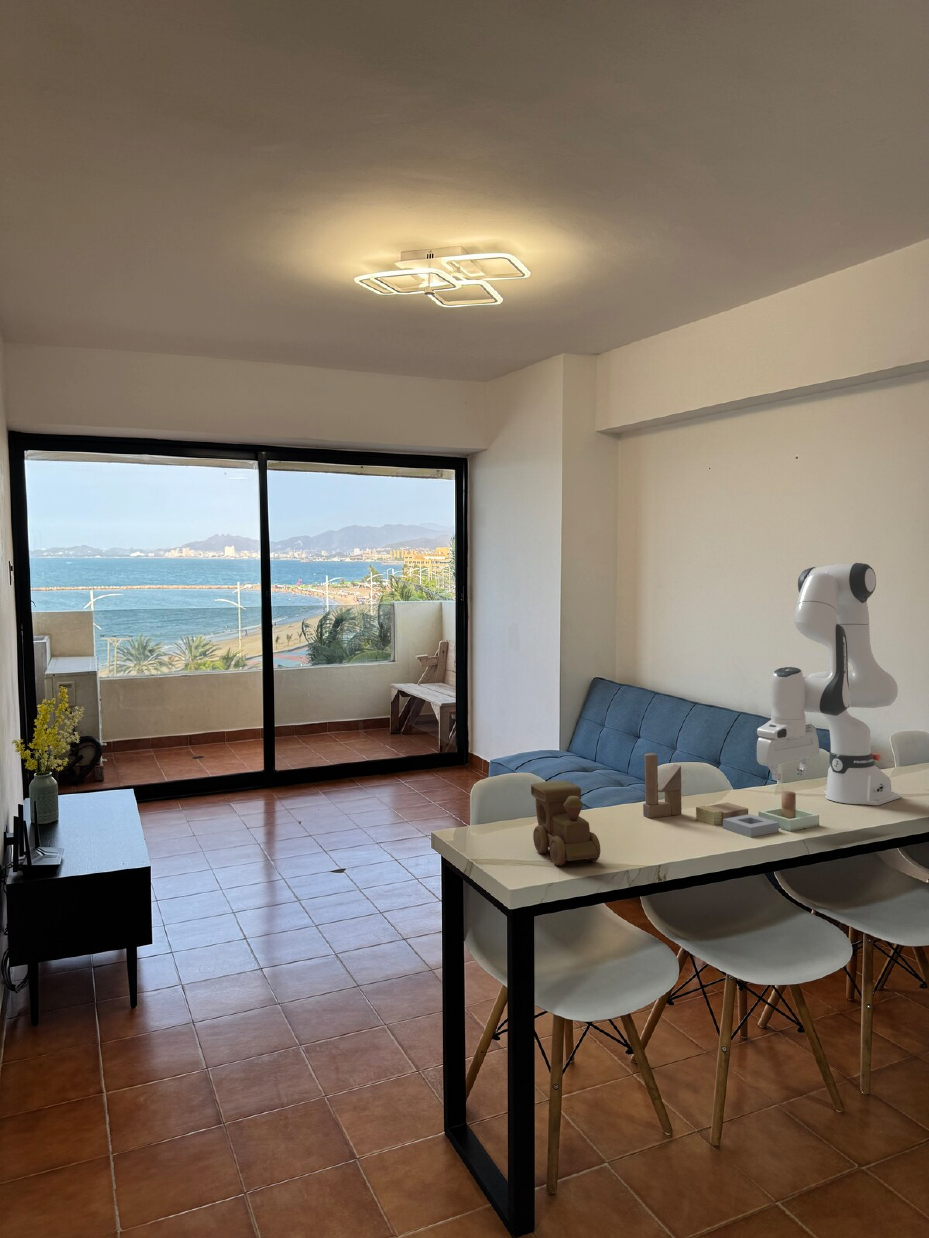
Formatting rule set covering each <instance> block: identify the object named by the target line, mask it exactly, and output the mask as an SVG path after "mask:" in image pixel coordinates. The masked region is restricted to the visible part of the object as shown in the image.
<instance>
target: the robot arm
mask: <svg viewBox="0 0 929 1238" xmlns="http://www.w3.org/2000/svg"><path fill="white" fill-rule="evenodd" d="M876 576H877V575H876V573H875V571H874V568H873V567H872V566H870V564H867V563H863V562H855V563H834V564H830V565H829V564H828V565H823V566H818V567H816V566H812V567H809V568H807V569H804V570H803V571H802V572H801V573H800V575H799V577H798V579H797V589H798V592H799V594H798V598H797V601H796V605H795V610H794V619H793V620H794V625H795V627H796V629H797V631H798V632H799V633H801V634H802V636H804V637H806V638H808V639H809V640H810V641H814V642H816V643H818V644H822V645H823V646H825V647H827V648H828V650H829V651H828V652H829V670H823V671H822V670H821V671H818V672H817V671H816V672H812V673H810V674H809V675H808V676H804V675H803V671H802V669H800V668H798V667H796V666H795V667H794V666H793V667H792V666H785V667H780V668H777V669H775V670H774V671H773V672H772V677H771V682H770V703H771V714H770V720H768V721H767V722H766V723H765V724H763V725H761V726H759V727H758V728H757V730H756V734H757V736H758V739H757V742H756V761H757V763H758V764H759V765H760V766H763V767H764V766H765V767H768V769H769V771H770V773H771V779H772V780H773V781H777V782H778V781H781V780H782V774H781V773H779V771H778V769H779V765H782V764H783V765H784V764H788V763H793V762H798V761H799V762H800V763H799V767H797V768H796V771H797V772H796V774H797V775H798V776H805V775H806V774H807V768H808V766H809V763H810V759H815V758H817V757H819V754H820V744H819V737H818V734H817V727H815V725H813V724H812V723H807V724H806V722H807V721H806V719H807V717H806V713H808V712H809V713H815V714H816V713H817V714H822V715H823V716H824V717H825V720H826V722H827V725H828V729H829V730H828V731H829V739H830V751H829V755H828V759H829V760H828V762H829V764H830V767H828V769H827V779H826V780H827V781H826V789H824V791H823V792H824V795H825V798H826V799H827V800H830V801H834V802H836V803H841V804H850V805H869V806H881V805H883V804H887V803H889V802H892V801H895V800H897V799H900V798H901V794H900V793H898V792H896V791H893V789H892V783H891V778H890V777H889V776H888V774H886V773H885V772H883V771H882V770H881V769H880V768H879V767H877V765H876V762H875V761H877V762H879V761H880V760H881V757H882V756H881V754H880V753H874V752H873V753H871V751H872V750H871V748H872V747H871V744H872V742H871V738H872V737H871V729H870V727H869V725H868V724H867V723H865V722H864V721H861V719H858V718H856V717H854V716H852V715H851V714H849V712H848V708H859V709H860V708H862V709H863V708H865V709H867V708H868V709H869V708H870V709H875V708H883V707H888V706H889V707H890V706H891V705H892V704H893V703H894V702H895V701H896V699H897V698H898V694H899V689H898V684H897V681H896V679H895V678H894V677H893V676H892V675H891V674H890V673H888V672H887V671H885V670H884V669H883V668H882V667H881V666H880V664H879V663H877V662H878V661H877V660H876V659H875V657H874V654H873V652H872V647H871V637H870V636H871V635H870V613H869V612H870V611H869V607H868V599H869V598H870V597H871V596H872V595H873V593H874V592H875V589H876V586H877V577H876ZM848 662H849V663H850V664H851V665H852V666H851V667H852V669H851V670H849V665H848V664H849V663H848ZM805 712H806V713H805Z"/></svg>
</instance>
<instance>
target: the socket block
mask: <svg viewBox="0 0 929 1238" xmlns="http://www.w3.org/2000/svg"><path fill="white" fill-rule="evenodd" d="M722 829H725V830H727V831H729V832H730V831H731V832H732V833H733V832H734V833H736V834H740V835H743V836H746V837H749V838H755V837H759V836H764V835H769V834H773V833H778V832H779V822H776V821H772V820H769V819H765V818H762V817H759V815H755V814H751V813H750V814H749V813H748V815H742V816H737V817H731V818H726V819H723V824H722Z"/></svg>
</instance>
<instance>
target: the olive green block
mask: <svg viewBox="0 0 929 1238" xmlns="http://www.w3.org/2000/svg"><path fill="white" fill-rule="evenodd" d="M707 806H708V805H707ZM707 806H706V805H700V806H696V807H695V816H696V818H695V819H696V820H698V821H700V822H703V823H706V824H709V825H712V826H717V825H723V824H722V811H720V810H717V809H713V808H710V807H707Z"/></svg>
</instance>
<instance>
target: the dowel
mask: <svg viewBox="0 0 929 1238" xmlns="http://www.w3.org/2000/svg"><path fill="white" fill-rule="evenodd" d="M796 795H797V793H796V792H795V791H788V790H785V791H781V807H782V817H784V818H787V819H793V818H796V809H797V808H796V807H797V806H796V805H797V803H796V802H797V800H796V799H797V796H796Z"/></svg>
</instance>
